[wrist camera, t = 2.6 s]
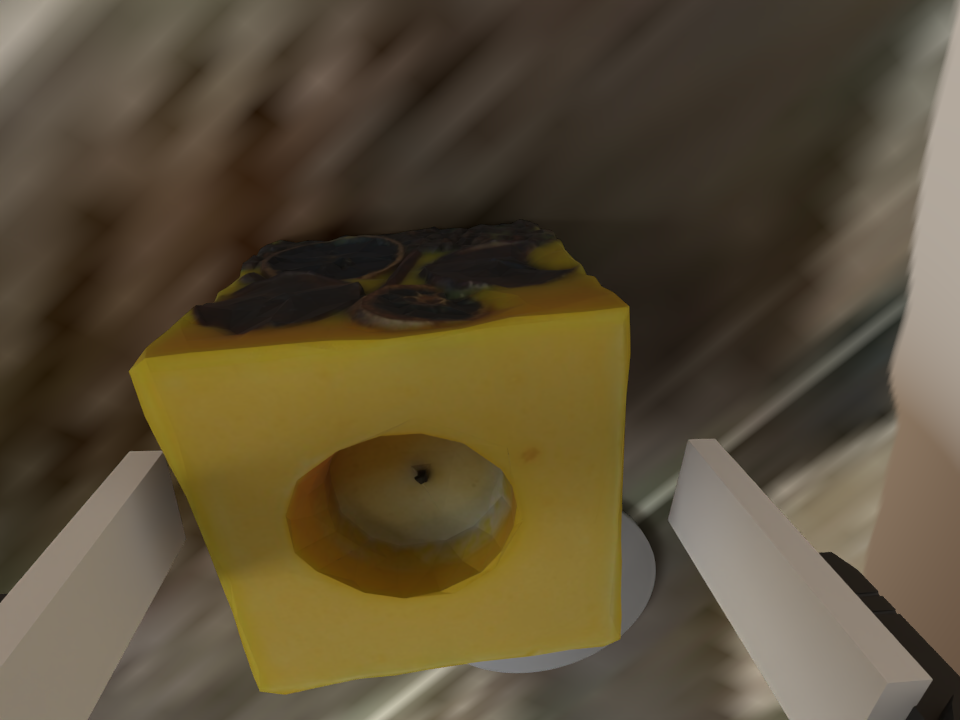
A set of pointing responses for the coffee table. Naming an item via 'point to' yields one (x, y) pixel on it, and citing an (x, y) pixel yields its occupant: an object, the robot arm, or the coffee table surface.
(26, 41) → the coffee table surface
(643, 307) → the coffee table surface
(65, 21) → the coffee table surface
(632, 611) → the coaster
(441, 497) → the candle
